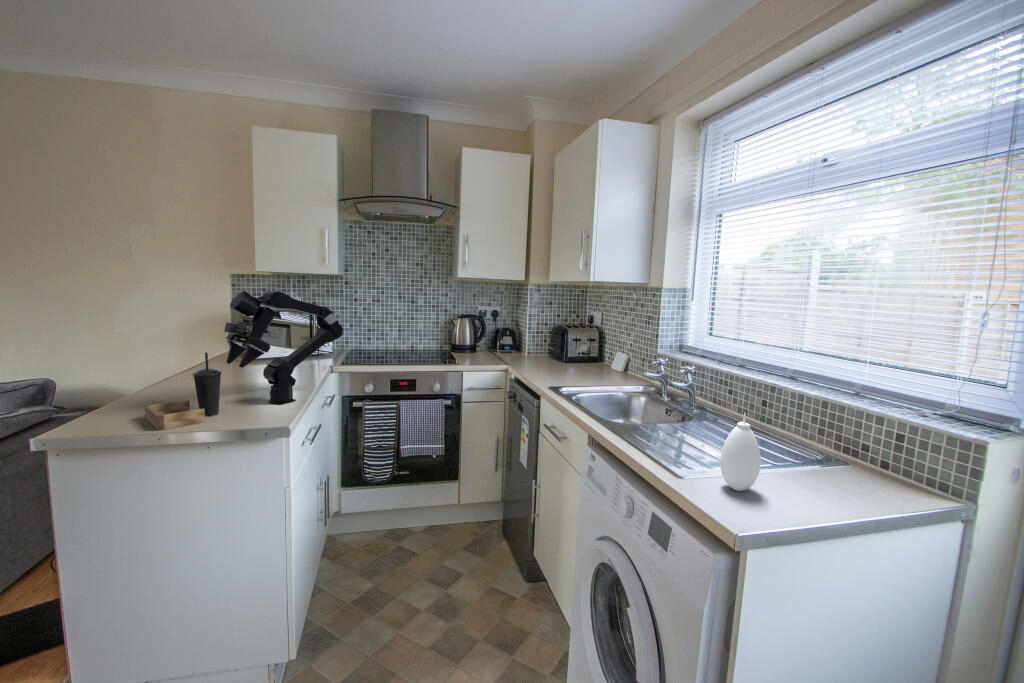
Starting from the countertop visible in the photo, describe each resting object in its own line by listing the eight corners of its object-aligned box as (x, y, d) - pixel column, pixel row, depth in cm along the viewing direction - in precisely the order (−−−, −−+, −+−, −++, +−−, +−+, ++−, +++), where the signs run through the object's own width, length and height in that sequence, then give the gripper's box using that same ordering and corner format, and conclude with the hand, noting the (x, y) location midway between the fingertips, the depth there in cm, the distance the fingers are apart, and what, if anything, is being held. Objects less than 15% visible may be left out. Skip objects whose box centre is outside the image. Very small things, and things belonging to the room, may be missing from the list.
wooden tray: (188, 411, 145) (188, 399, 144) (205, 422, 135) (204, 409, 135) (145, 419, 136) (144, 406, 136) (159, 430, 126) (158, 416, 126)
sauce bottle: (711, 481, 105) (718, 406, 102) (744, 481, 105) (751, 407, 103) (729, 497, 97) (737, 416, 95) (764, 497, 97) (773, 417, 95)
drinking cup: (228, 414, 144) (225, 352, 141) (201, 419, 137) (198, 355, 135) (216, 409, 148) (213, 350, 145) (190, 415, 141) (186, 352, 139)
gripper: (224, 309, 150) (197, 350, 145) (250, 313, 139) (222, 358, 134) (254, 325, 158) (230, 365, 153) (281, 330, 148) (256, 373, 143)
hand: (234, 365), depth 146 cm, fingers open, 9 cm apart
